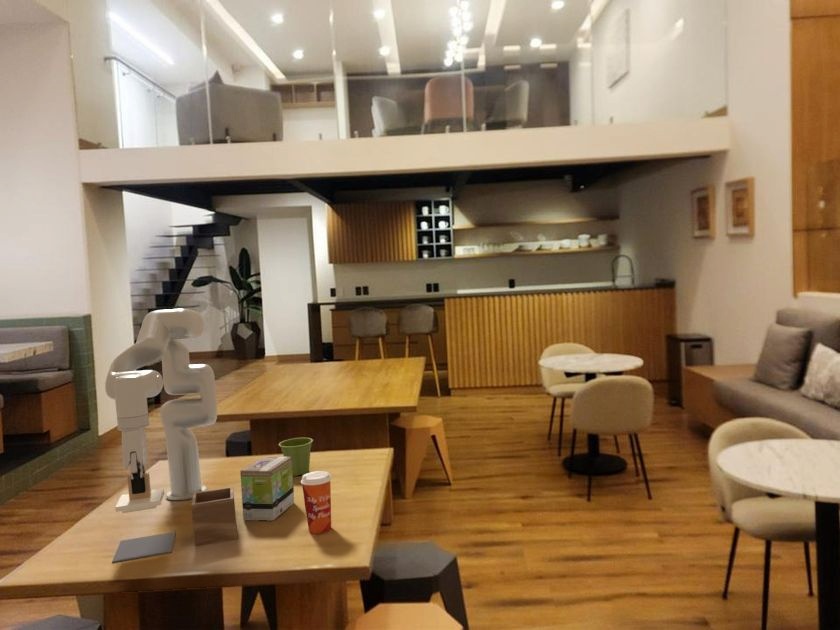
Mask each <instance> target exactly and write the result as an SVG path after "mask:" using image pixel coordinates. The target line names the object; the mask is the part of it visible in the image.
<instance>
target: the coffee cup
mask: <svg viewBox="0 0 840 630" xmlns="http://www.w3.org/2000/svg"><path fill="white" fill-rule="evenodd" d="M301 476H302V477H301V480H300V483H301V487H302V493H303V499H304V500H303V501H304V509H305V515H306V522H307V526H308V527H307V528H308V532H309V533H311V534H313V533H314V534H313V535H316V534H317V535H318V534H319V533H320V534H324V532H325V533H327V531H328V532H329V531H331V530H332V529H331V528H332V503H331V502H332V497H331V496H332V495H331V494H332V493H331V480H332V476H331V474H330V473H329V472H328V471H323V470H317V471H309V472H308V473H306V474H304V475H301ZM320 534H319V535H320Z"/></svg>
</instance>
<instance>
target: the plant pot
mask: <svg viewBox="0 0 840 630" xmlns="http://www.w3.org/2000/svg"><path fill="white" fill-rule="evenodd" d="M313 441H314V439H312V438H311V437H294V438H289V439H286V440H285V439H284V440H283V441H280V442H279V443H278V447H280V449H281V452H282V456H283V457H291V459H292V472H293V477H297V476H299V475H300V476H303V475H304V474H306V473H310V463H311V462H310V461H311V449H312V443H313Z"/></svg>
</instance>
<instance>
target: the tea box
mask: <svg viewBox="0 0 840 630" xmlns="http://www.w3.org/2000/svg"><path fill="white" fill-rule="evenodd" d="M239 473H240V487H241V489H240V490H241V504H242V505H241V506H242V518H243V520H244V521H258V520H267V521H268V522H269V521H275V520H276V519H277V518H278V517H279V516H280V515H281V514H283V513H284V512H285V511H286V510H288V508H289V507H291V506H292V505H294V503H295V491H294V476H293V472H292V459H291V457H284V456H262V457H260V458H258V459H257V460H255V461H254V462H252V463H251V464H249V465H247V466H246V467H244V468H242V469H241V470H240V471H239Z"/></svg>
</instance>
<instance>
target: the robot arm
mask: <svg viewBox="0 0 840 630" xmlns="http://www.w3.org/2000/svg"><path fill="white" fill-rule="evenodd" d="M204 328H205V323H204V319H203V316H202V315H201V314H200V313H199V311H196V310H192V309H187V308H172V309H170V308H169V309H157V310H153V311H152V310H151V311H150V312H148V313H147V314H146V315H145V316H144V318H143V320H142V323H141V327H140V330H139V333H138V336H137V338H136V342H135V343H134V344H132V345H131V346H129V347H127V348H126V349H125V350H124V351H123V352H121V353H120V354H119V355H117V356H116V357H115V358H114V360H113V361H112V363H110V364H111V365H110V366H109V370H108V372H107V375H106V380H105V383H104V384H105V387H104V388H105V392H106V394H107V396H108V398H110V399H111V400H114V402H115V412H116V421H117V422H116V423H117V424H116V425H117V430H118V431H120V432H121V451H122V468H123V470H126V469H128V468H130V469H129V470H130V475H131V486H132V494H139V493H145V491H146V489H145V478H144V477H143V473H146V469H145V468H146V467H145V463H146V462H147V459H148V447H147V446H148V445H147V436H146V434H147V433H146V428H148V427H150V420H149V409H148V408H149V407H148V398H154V397H156V396H158V395H159V394H160V393H161V392H162V390H163V388H164V391H165V392H166V394H168V395H170V396H180V395H183V396H184V395H195V394H198V395H199V396H200V397H188V398H187V397H186V398H177V399H171V400H170V399H169V400H168V401H166V402H164V403H163V404H162V405H161V408H160V420H161V423H162V426H163V430H164V435H165V442H166V451H167V452H166V453H167V462H168V463H167V465H168V473H169V474H168V475H169V484H170V490H169V491H167V492H166V493H165V497H166V499H167V500H170V501H186V500H190V499H191V500H192V498H193V493H195V492H202V491H208V489H207V488H208V487H207V486H205V485H203V484H202V479H201V478H202V477H201V467H200V465H201V464H200V456H199V447H198V445H199V444H198V439H197V436H196V435H195V433H194V432H193V431H192V430H191V428H199V427H200V428H201V427H209V426H212V425H214V424H215V423H216V421H217V418H218V404H217V389H216V380H215V378H216V377H215V373H214V370H213V369H212V368H213V367H212V366H210V365H209V364H207V363H206V364H205V363H198V364H191V363H190V350H189V348H188V346H187V345H186V343H184V341H183V340H185V339H198V338H199V337H201V336H202V334H203V332H204ZM160 359H161V366H162V368H161V369H162V374H161V373H160V372H158V371H157V370H155V369H154V370H153V369H143V370H141V369H140V368H143V367H146V366H149V365H151V364H153V363H155V362H157V361H159V360H160ZM138 369H140V370H138Z"/></svg>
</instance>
